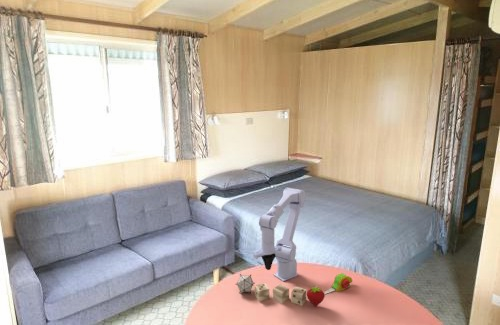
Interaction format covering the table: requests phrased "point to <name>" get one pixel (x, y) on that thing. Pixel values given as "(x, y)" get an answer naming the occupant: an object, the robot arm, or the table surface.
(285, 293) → the plain block
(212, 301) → the table surface
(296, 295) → the pip block
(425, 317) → the table surface
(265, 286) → the pip block
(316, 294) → the strawberry
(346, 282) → the toy measuring tape
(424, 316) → the table surface
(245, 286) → the game die
